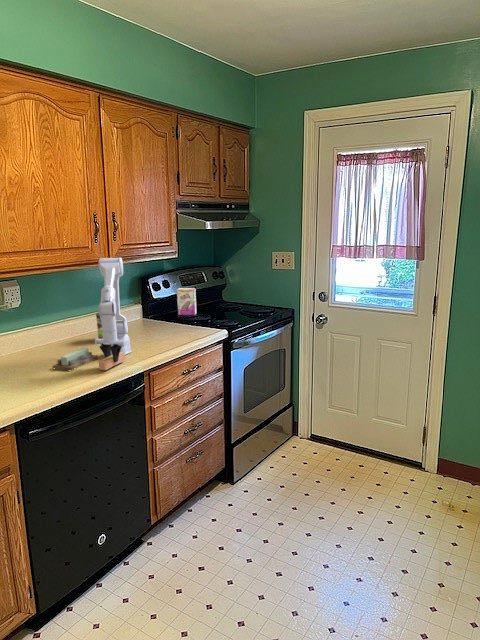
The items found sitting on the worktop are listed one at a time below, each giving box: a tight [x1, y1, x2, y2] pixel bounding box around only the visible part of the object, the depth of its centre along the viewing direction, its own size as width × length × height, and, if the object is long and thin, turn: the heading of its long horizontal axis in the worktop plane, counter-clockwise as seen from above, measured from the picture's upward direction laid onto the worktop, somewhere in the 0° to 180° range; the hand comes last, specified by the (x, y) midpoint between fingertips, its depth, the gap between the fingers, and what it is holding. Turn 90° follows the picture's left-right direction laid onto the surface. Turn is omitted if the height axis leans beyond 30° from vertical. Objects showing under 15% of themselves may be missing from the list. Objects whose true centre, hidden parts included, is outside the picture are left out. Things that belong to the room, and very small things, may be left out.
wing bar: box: [98, 352, 126, 371], centre depth 204 cm, size 14×3×4 cm, turn 158°
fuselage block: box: [60, 347, 90, 365], centre depth 210 cm, size 14×3×4 cm, turn 158°
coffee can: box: [95, 312, 118, 339], centre depth 246 cm, size 10×10×14 cm
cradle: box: [52, 351, 99, 371], centre depth 210 cm, size 18×9×4 cm, turn 158°
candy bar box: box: [176, 287, 198, 316], centre depth 300 cm, size 11×5×16 cm, turn 82°
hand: (112, 361), depth 204 cm, fingers closed on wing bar, 3 cm apart
